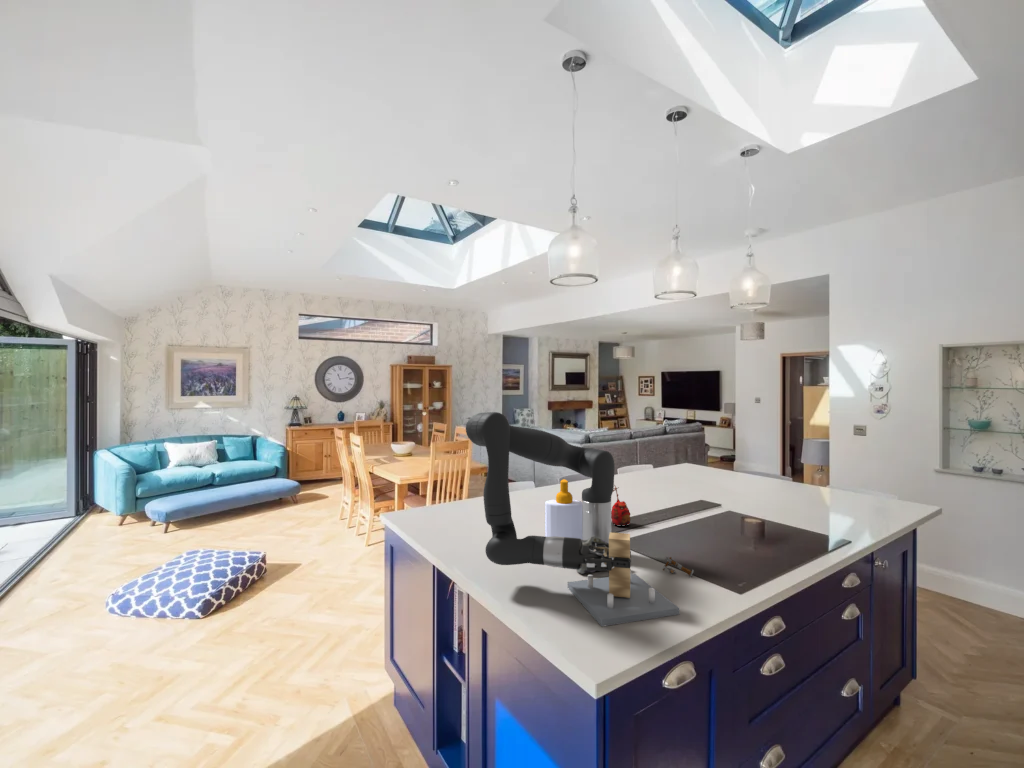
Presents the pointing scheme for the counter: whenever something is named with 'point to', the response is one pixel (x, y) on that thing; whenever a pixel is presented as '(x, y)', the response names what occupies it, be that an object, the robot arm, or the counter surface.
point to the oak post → (618, 575)
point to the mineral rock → (587, 543)
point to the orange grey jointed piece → (676, 566)
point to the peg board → (621, 601)
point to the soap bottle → (563, 515)
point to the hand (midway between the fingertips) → (630, 558)
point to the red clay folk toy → (620, 512)
